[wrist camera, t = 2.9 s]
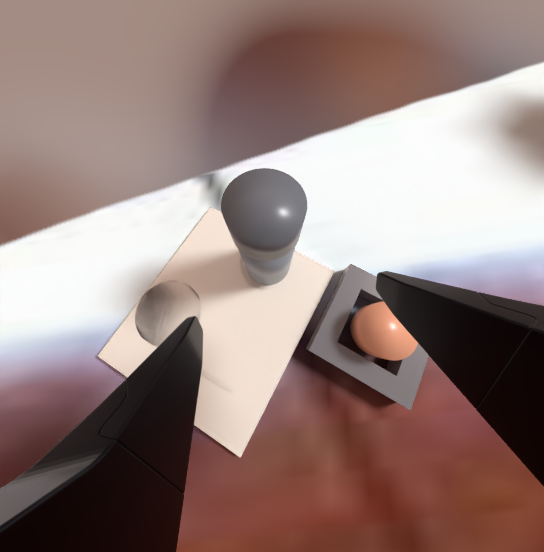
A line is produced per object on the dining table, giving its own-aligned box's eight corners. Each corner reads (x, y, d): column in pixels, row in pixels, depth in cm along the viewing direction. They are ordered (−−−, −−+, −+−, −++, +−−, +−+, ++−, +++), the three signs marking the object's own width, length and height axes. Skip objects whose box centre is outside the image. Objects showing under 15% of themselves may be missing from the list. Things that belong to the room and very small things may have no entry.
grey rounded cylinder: (276, 294, 21) (280, 258, 11) (236, 272, 22) (204, 217, 12) (298, 256, 23) (321, 189, 12) (259, 236, 23) (249, 156, 13)
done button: (390, 367, 18) (407, 372, 16) (342, 339, 19) (352, 341, 17) (408, 320, 20) (426, 318, 17) (362, 296, 20) (373, 291, 18)
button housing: (396, 402, 19) (410, 410, 17) (305, 348, 20) (308, 350, 19) (427, 312, 22) (443, 310, 20) (344, 269, 23) (350, 263, 21)
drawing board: (241, 453, 18) (240, 457, 17) (102, 355, 20) (97, 356, 20) (333, 271, 23) (335, 269, 22) (212, 208, 25) (211, 205, 25)
